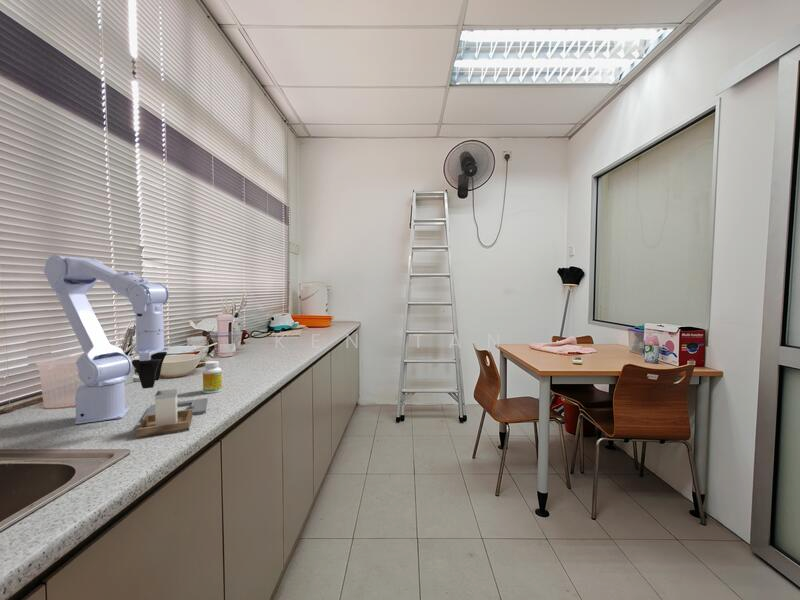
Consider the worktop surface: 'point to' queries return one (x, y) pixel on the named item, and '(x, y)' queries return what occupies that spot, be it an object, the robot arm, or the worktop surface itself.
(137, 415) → the worktop surface
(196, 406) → the frame
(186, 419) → the tray
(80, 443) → the worktop surface
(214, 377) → the supplement bottle
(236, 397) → the worktop surface
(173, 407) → the block
